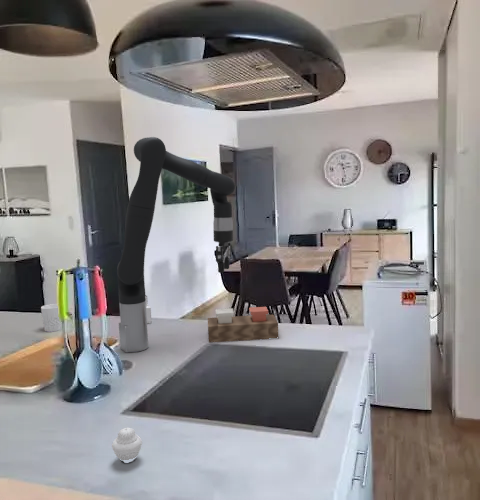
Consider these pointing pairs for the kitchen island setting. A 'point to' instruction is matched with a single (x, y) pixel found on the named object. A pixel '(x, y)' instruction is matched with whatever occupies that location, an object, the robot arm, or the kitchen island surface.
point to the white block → (224, 315)
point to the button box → (242, 329)
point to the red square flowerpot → (258, 313)
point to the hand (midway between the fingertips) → (223, 270)
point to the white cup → (50, 317)
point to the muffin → (127, 444)
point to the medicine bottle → (148, 312)
